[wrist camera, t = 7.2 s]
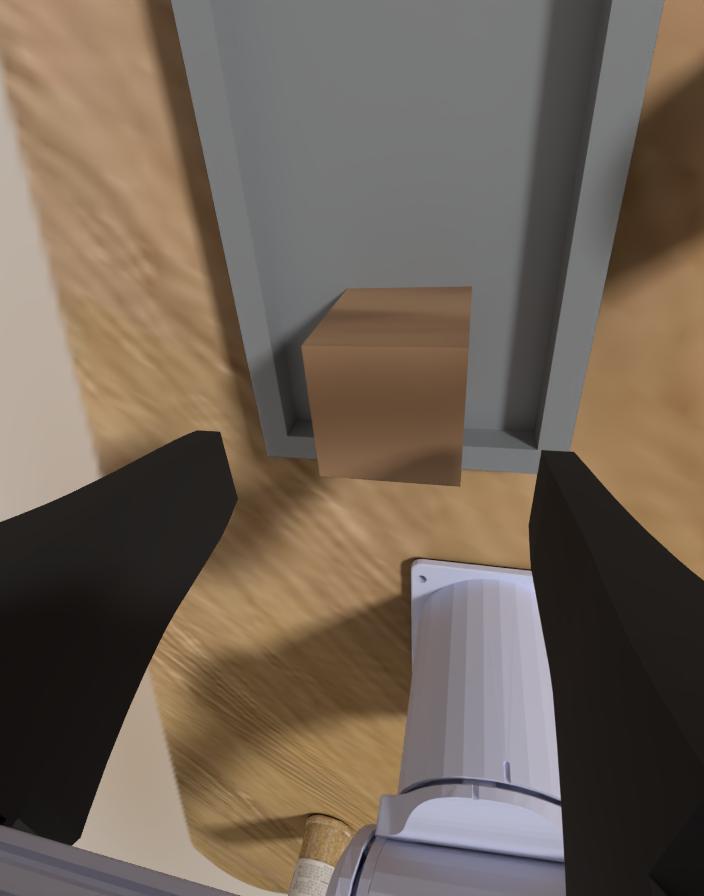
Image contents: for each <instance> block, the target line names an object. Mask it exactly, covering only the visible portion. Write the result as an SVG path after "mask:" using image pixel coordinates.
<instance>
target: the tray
mask: <svg viewBox="0 0 704 896" xmlns="http://www.w3.org/2000/svg"><path fill="white" fill-rule="evenodd" d="M664 1H665V0H171V3H172V8H173V12H174V17H175V22H176V27H177V31H178V36H179V41H180V46H181V50H182V55H183V60H184V65H185V69H186V74H187V79H188V83H189V88H190V93H191V98H192V102H193V107H194V112H195V117H196V121H197V126H198V131H199V135H200V140H201V145H202V150H203V154H204V159H205V164H206V169H207V173H208V178H209V183H210V188H211V192H212V197H213V202H214V206H215V211H216V216H217V221H218V225H219V230H220V235H221V240H222V244H223V249H224V254H225V259H226V263H227V268H228V273H229V277H230V282H231V287H232V292H233V296H234V301H235V306H236V311H237V315H238V320H239V325H240V330H241V334H242V339H243V344H244V348H245V353H246V358H247V363H248V367H249V372H250V377H251V382H252V386H253V391H254V396H255V401H256V405H257V410H258V415H259V419H260V424H261V429H262V434H263V438H264V443H265V448H266V453H267V456H273V457H288V458H303V459H317V453H316V446H315V439H314V432H313V425H312V418H311V411H310V404H309V396H308V389H307V382H306V375H305V368H304V361H303V354H302V347H301V346H302V344H303V343H304V342H305V341H306V339H307V338H308V337H309V336H310V334H311V333H312V332H313V331H314V329H315V328H316V327H317V326H318V324H319V323H320V322H321V321H322V319H323V318H324V317H325V316H326V314H327V313H328V312H329V311H330V309H331V308H332V307H333V306H334V304H335V303H336V302H337V301H338V299H339V298H340V297H341V296H342V294H343V293H344V292H345V291H346V289H347V288H404V287H462V286H472V296H471V315H470V335H469V353H468V369H467V385H466V402H465V418H464V434H463V450H462V466H461V469H469V470H484V471H499V472H514V473H529V474H538V468H539V462H540V456H541V450H550V451H568V452H569V451H570V446H571V441H572V436H573V432H574V427H575V422H576V417H577V413H578V408H579V403H580V398H581V394H582V389H583V384H584V379H585V375H586V370H587V365H588V361H589V356H590V351H591V346H592V342H593V337H594V332H595V327H596V323H597V318H598V313H599V308H600V304H601V299H602V294H603V289H604V285H605V280H606V275H607V271H608V266H609V261H610V256H611V252H612V247H613V242H614V237H615V233H616V228H617V223H618V218H619V214H620V209H621V204H622V199H623V195H624V190H625V185H626V181H627V176H628V171H629V166H630V162H631V157H632V152H633V147H634V143H635V138H636V133H637V128H638V124H639V119H640V114H641V109H642V105H643V100H644V95H645V91H646V86H647V81H648V76H649V72H650V67H651V62H652V57H653V53H654V48H655V43H656V38H657V34H658V29H659V24H660V19H661V15H662V10H663V5H664Z"/></svg>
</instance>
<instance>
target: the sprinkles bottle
mask: <svg viewBox="0 0 704 896" xmlns="http://www.w3.org/2000/svg"><path fill="white" fill-rule="evenodd" d="M351 838H352V831H351V829H350V828H349V827H348V826H347V825H346V824H345V823H343V822H341V821H339V820H336V819H334V818H331V817H327V816H323V815H312V816H310V817H308V818H307V820H306V830H305V834H304V837H303V842H302V847H301V850H300V854H299V858H298V860H297V862H296V866H295V870H294V874H293V878H292V882H291V886H290V890H289V894H288V896H326V892H327V889H328V885H329V882H330V879H331V876H332V874H333V871H334V869H335V866H336V864H337V862H338V860H339V858H340V856H341V855H342V853H343V852H344V850H345V849H346V848H347V846H348V845H349V842H350V841H351Z"/></svg>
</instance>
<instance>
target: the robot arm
mask: <svg viewBox="0 0 704 896" xmlns="http://www.w3.org/2000/svg"><path fill="white" fill-rule="evenodd" d="M237 500H238V498H237V494H236V490H235V487H234V483H233V479H232V475H231V471H230V468H229V464H228V460H227V456H226V452H225V449H224V445H223V441H222V437H221V433H220V432H215V431H198V430H197V431H195V432H192V433H189V434H187V435H185V436H183V437H181V438H178V439H176V440H174V441H172V442H170V443H168V444H166V445H164V446H163V447H161V448H159V449H157V450H155V451H153V452H151V453H149V454H147V455H145V456H143V457H142V458H140V459H138V460H136V461H134V462H132V463H130V464H128V465H126V466H124V467H123V468H121V469H119V470H117V471H115V472H113V473H111V474H109V475H107V476H105V477H103V478H101V479H99V480H97V481H95V482H92V483H90V484H88V485H86V486H84V487H82V488H80V489H78V490H76V491H74V492H72V493H70V494H68V495H66V496H63V497H61V498H59V499H57V500H54V501H52V502H50V503H47V504H45V505H43V506H40V507H38V508H35V509H33V510H30V511H28V512H25V513H23V514H20V515H18V516H15V517H13V518H10V519H7V520H5V521H2V522H0V896H240V895H236V894H233V893H229V892H226V891H223V890H219V889H216V888H213V887H209V886H206V885H202V884H199V883H196V882H192V881H189V880H185V879H182V878H179V877H175V876H172V875H168V874H165V873H162V872H158V871H154V870H151V869H148V868H145V867H141V866H137V865H134V864H131V863H128V862H124V861H121V860H117V859H113V858H110V857H107V856H104V855H100V854H97V853H93V852H90V851H87V850H83V849H80V848H76V847H73V846H72V845H73V844H74V843H75V842H76V841H77V840H78V839H80V838H81V835H82V832H83V829H84V826H85V823H86V820H87V817H88V814H89V811H90V808H91V806H92V803H93V800H94V797H95V795H96V792H97V789H98V786H99V783H100V781H101V778H102V775H103V772H104V770H105V767H106V764H107V761H108V759H109V756H110V754H111V751H112V749H113V746H114V744H115V741H116V739H117V737H118V734H119V732H120V729H121V727H122V724H123V722H124V719H125V717H126V714H127V712H128V709H129V707H130V705H131V702H132V700H133V698H134V696H135V694H136V691H137V689H138V687H139V684H140V682H141V680H142V678H143V676H144V673H145V671H146V669H147V667H148V665H149V663H150V661H151V659H152V656H153V654H154V652H155V650H156V648H157V646H158V644H159V642H160V640H161V638H162V636H163V634H164V632H165V630H166V628H167V626H168V624H169V622H170V621H171V619H172V617H173V615H174V613H175V612H176V610H177V608H178V607H179V605H180V604H181V602H182V600H183V599H184V597H185V595H186V594H187V592H188V591H189V589H190V587H191V586H192V584H193V583H194V581H195V579H196V578H197V576H198V574H199V573H200V571H201V570H202V568H203V566H204V565H205V563H206V562H207V560H208V558H209V557H210V555H211V553H212V552H213V550H214V548H215V547H216V545H217V543H218V542H219V540H220V538H221V536H222V535H223V533H224V531H225V528H226V526H227V524H228V522H229V519H230V517H231V515H232V512H233V510H234V507H235V505H236V502H237ZM529 543H530V561H531V571H527V570H518V569H509V568H500V567H491V566H482V565H472V564H463V563H454V562H445V561H436V560H427V559H417V560H415V561H414V562H412V566H411V622H412V680H411V688H410V696H409V704H408V713H407V721H406V729H405V737H404V745H403V753H402V761H401V769H400V777H399V785H398V794H397V795H382V796H381V798H380V805H379V812H378V818H377V824H369V825H365V826H363V827H362V828H361V829H359V831H358V832H357V833H356V834H355V835H354V837H353V838H352V840H351V841H350V843H349V845H348V846H347V848H346V849H345V850H344V852H343V853H342V855H341V856H340V858H339V860H338V862H337V864H336V866H335V869H334V871H333V874H332V876H331V879H330V882H329V885H328V889H327V892H326V896H704V581H703V580H702V579H701V578H700V577H698V576H697V575H696V574H695V573H693V572H692V571H691V570H690V569H689V568H687V567H686V566H685V565H684V564H683V563H681V562H680V561H679V560H678V559H677V558H676V557H675V556H673V555H672V554H671V553H670V552H669V551H668V550H667V549H666V548H665V547H664V546H663V545H661V544H660V543H659V542H658V541H657V540H656V539H655V538H654V537H653V536H652V535H651V534H650V533H648V532H647V531H646V530H645V529H644V528H643V527H642V526H641V525H640V524H639V523H638V522H637V521H636V520H635V519H634V518H633V517H632V516H631V515H630V513H629V512H628V511H627V510H626V509H625V508H624V507H623V506H622V505H621V504H620V503H619V502H618V501H617V500H616V499H615V498H614V497H613V495H612V494H611V493H610V492H609V491H608V490H607V489H606V488H605V487H604V485H603V484H602V483H601V482H600V481H599V480H598V479H597V478H596V476H595V475H594V474H593V473H592V472H591V471H590V469H589V468H588V467H587V466H586V465H585V464H584V463H583V462H582V460H581V459H580V458H579V457H578V456H577V455H576V454H575V453H574V452H568V451H550V450H541V456H540V462H539V468H538V474H537V480H536V486H535V491H534V497H533V503H532V509H531V515H530V521H529ZM420 575H422V576H425V577H422V576H420Z"/></svg>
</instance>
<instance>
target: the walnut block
mask: <svg viewBox="0 0 704 896" xmlns="http://www.w3.org/2000/svg"><path fill="white" fill-rule="evenodd" d="M471 296H472V286H462V287H404V288H347V289H346V291H345V292H344V293H343V294H342V296H341V297H340V298H339V299H338V301H337V302H336V303H335V304H334V306H333V307H332V308H331V309H330V311H329V312H328V313H327V314H326V316H325V317H324V318H323V319H322V321H321V322H320V323H319V324H318V326H317V327H316V328H315V329H314V331H313V332H312V333H311V334H310V336H309V337H308V338H307V339H306V341H305V342H304V343H303V344H302V346H301V347H302V354H303V361H304V368H305V375H306V382H307V389H308V396H309V404H310V411H311V418H312V425H313V432H314V439H315V446H316V453H317V460H318V467H319V474H320V476H324V477H338V478H351V479H364V480H378V481H391V482H405V483H418V484H432V485H445V486H459V487H460V482H461V466H462V450H463V434H464V418H465V402H466V385H467V369H468V353H469V335H470V315H471Z"/></svg>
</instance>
